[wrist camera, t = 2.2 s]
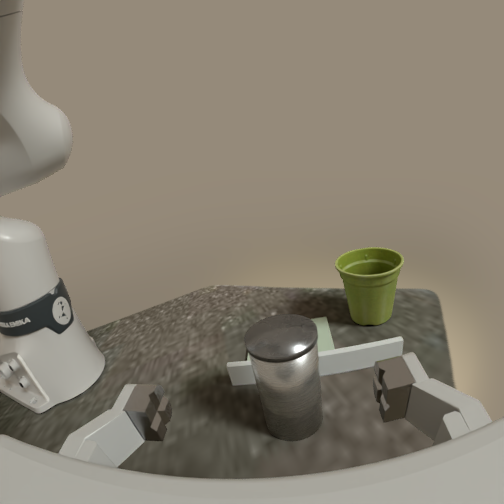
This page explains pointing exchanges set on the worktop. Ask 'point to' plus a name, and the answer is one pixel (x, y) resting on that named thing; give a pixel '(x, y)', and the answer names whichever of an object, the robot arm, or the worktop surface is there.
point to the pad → (321, 335)
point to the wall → (331, 360)
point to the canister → (287, 374)
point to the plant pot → (370, 282)
